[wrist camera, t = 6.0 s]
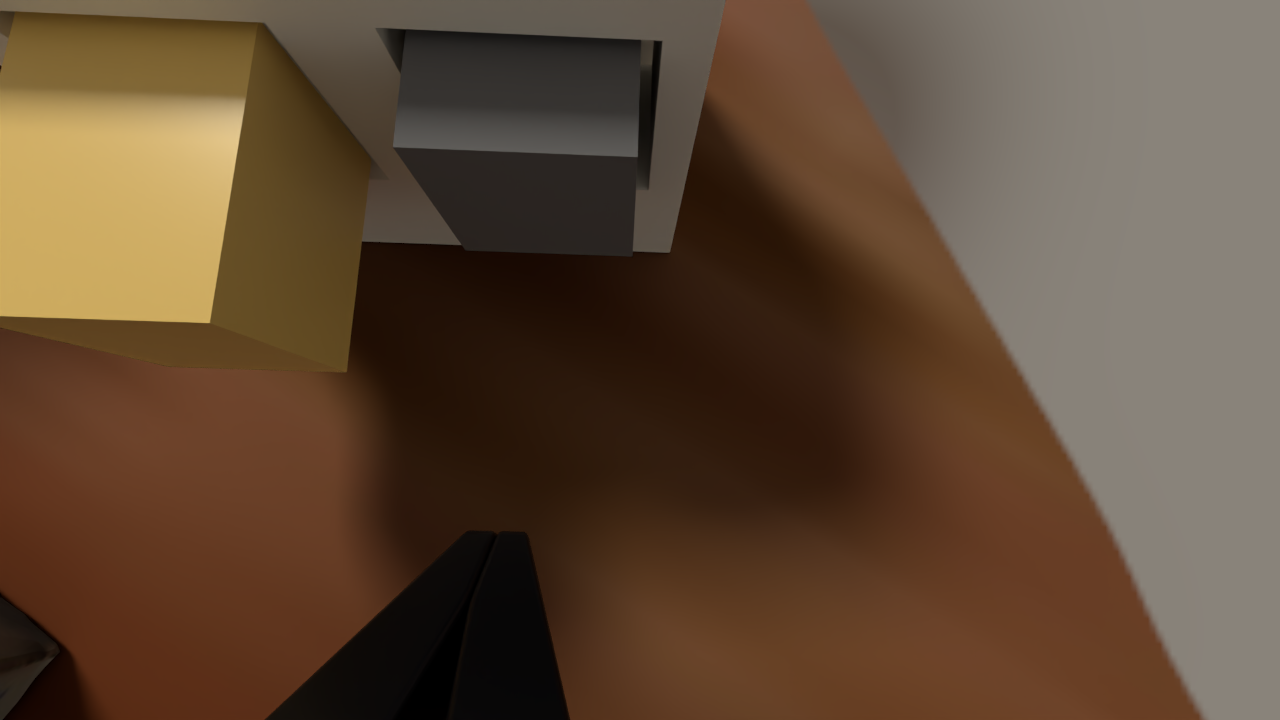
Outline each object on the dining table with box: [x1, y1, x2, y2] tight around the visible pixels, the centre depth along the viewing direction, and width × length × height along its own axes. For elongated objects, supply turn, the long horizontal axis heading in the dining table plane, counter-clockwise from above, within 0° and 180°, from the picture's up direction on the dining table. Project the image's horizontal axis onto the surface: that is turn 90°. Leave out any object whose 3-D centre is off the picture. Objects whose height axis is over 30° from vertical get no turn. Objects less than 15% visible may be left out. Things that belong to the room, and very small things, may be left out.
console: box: [0, 0, 726, 253], centre depth 12 cm, size 6×11×10 cm, turn 88°
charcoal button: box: [393, 29, 641, 257], centre depth 11 cm, size 4×3×4 cm
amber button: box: [0, 11, 371, 372], centre depth 10 cm, size 4×3×4 cm
